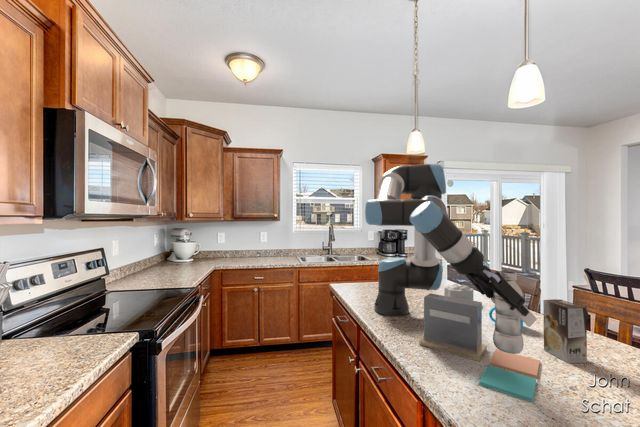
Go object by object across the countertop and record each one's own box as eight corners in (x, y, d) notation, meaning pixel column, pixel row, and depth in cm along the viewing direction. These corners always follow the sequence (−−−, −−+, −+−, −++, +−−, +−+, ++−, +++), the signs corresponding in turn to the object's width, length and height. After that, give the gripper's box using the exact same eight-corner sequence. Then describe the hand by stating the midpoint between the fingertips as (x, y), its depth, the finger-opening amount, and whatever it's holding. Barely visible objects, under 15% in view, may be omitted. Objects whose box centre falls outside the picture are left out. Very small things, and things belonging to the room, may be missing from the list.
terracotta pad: (489, 365, 85) (489, 362, 85) (496, 351, 94) (496, 349, 94) (536, 378, 78) (536, 375, 78) (539, 362, 87) (539, 360, 87)
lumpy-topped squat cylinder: (441, 300, 152) (441, 283, 152) (466, 299, 154) (466, 282, 154) (452, 306, 142) (452, 288, 142) (478, 305, 143) (478, 287, 143)
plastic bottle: (514, 359, 71) (514, 275, 72) (487, 348, 77) (487, 270, 78) (529, 354, 74) (529, 273, 75) (502, 343, 80) (502, 269, 81)
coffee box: (588, 363, 87) (588, 307, 87) (568, 363, 87) (568, 307, 87) (560, 349, 96) (560, 298, 96) (542, 349, 96) (542, 299, 96)
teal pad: (478, 384, 75) (478, 381, 75) (487, 367, 84) (487, 364, 84) (532, 402, 68) (532, 398, 68) (536, 381, 77) (536, 378, 77)
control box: (419, 344, 99) (419, 297, 99) (429, 335, 106) (429, 291, 107) (479, 361, 87) (480, 308, 87) (486, 350, 95) (486, 301, 95)
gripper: (497, 246, 66) (565, 319, 67) (450, 240, 85) (503, 297, 86) (474, 271, 65) (543, 344, 66) (432, 258, 84) (486, 315, 86)
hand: (521, 317), depth 76 cm, fingers closed on plastic bottle, 6 cm apart
